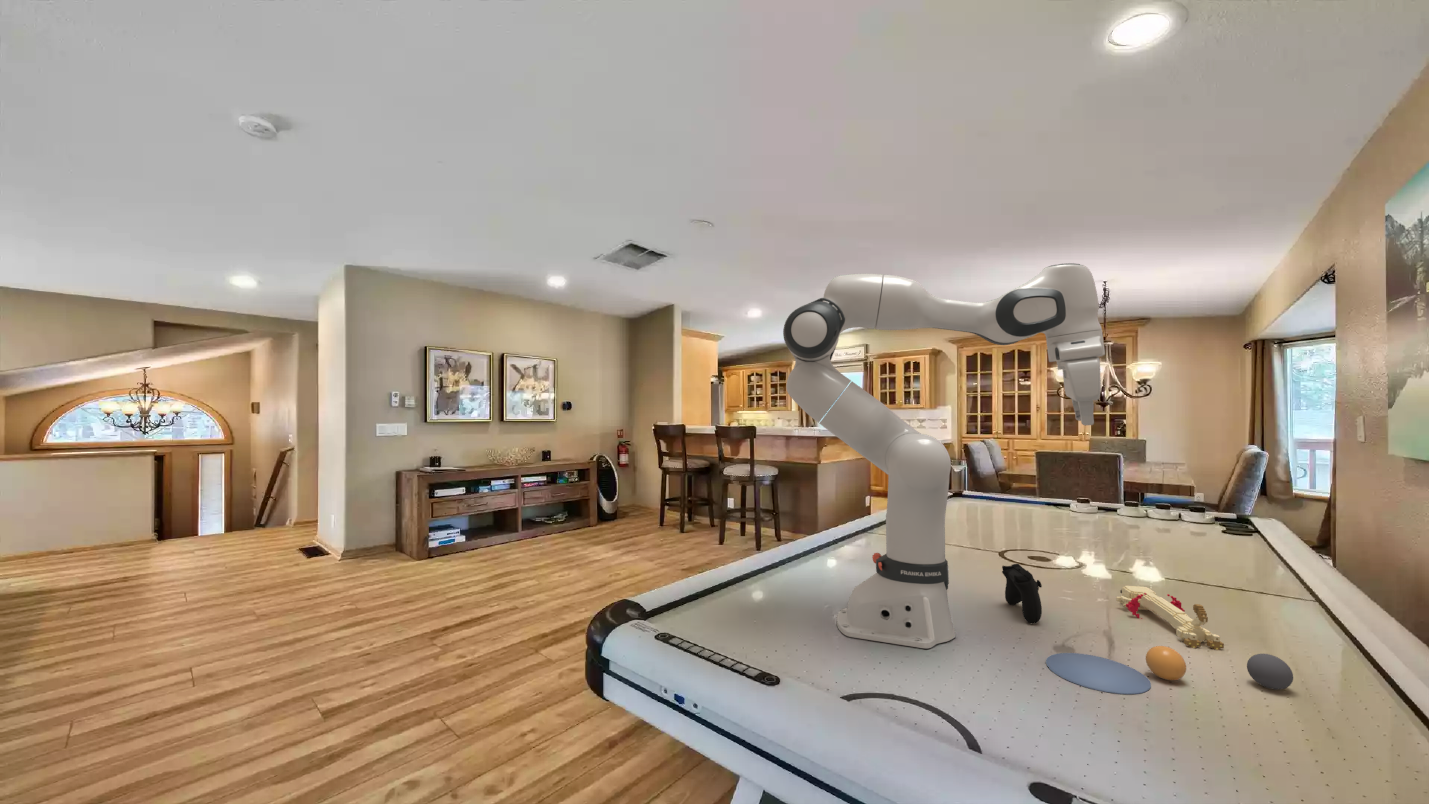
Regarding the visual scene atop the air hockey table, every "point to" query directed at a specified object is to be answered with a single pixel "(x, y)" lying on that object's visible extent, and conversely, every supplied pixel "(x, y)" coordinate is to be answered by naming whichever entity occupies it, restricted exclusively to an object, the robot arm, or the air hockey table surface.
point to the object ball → (1166, 663)
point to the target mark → (1098, 673)
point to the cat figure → (1171, 615)
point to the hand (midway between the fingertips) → (1084, 422)
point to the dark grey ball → (1270, 671)
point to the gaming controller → (1023, 591)
